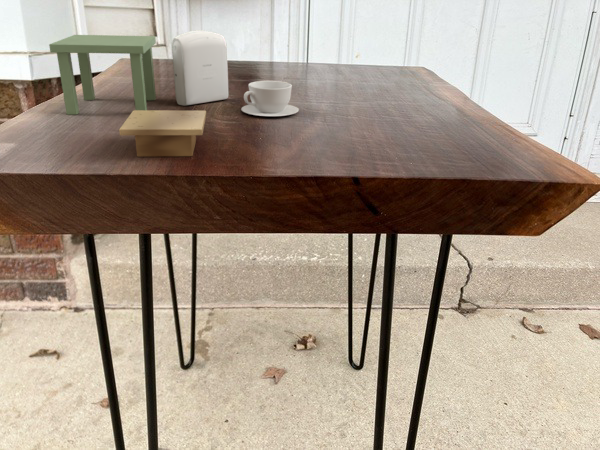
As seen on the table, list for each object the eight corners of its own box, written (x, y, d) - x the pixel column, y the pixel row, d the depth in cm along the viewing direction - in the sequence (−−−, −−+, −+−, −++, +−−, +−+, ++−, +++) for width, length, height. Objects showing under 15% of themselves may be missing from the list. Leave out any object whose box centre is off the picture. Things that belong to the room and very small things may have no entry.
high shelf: (60, 115, 85) (48, 44, 80) (83, 97, 98) (74, 34, 93) (149, 115, 87) (143, 45, 82) (160, 97, 99) (155, 36, 95)
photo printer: (184, 107, 93) (179, 33, 88) (172, 103, 96) (166, 30, 90) (232, 100, 99) (230, 30, 94) (219, 96, 102) (216, 28, 97)
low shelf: (122, 160, 66) (118, 129, 64) (136, 138, 75) (133, 110, 73) (203, 160, 67) (202, 129, 65) (207, 138, 76) (206, 110, 74)
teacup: (278, 103, 98) (278, 77, 96) (310, 114, 91) (311, 87, 89) (230, 109, 93) (229, 82, 91) (260, 121, 85) (260, 92, 83)
